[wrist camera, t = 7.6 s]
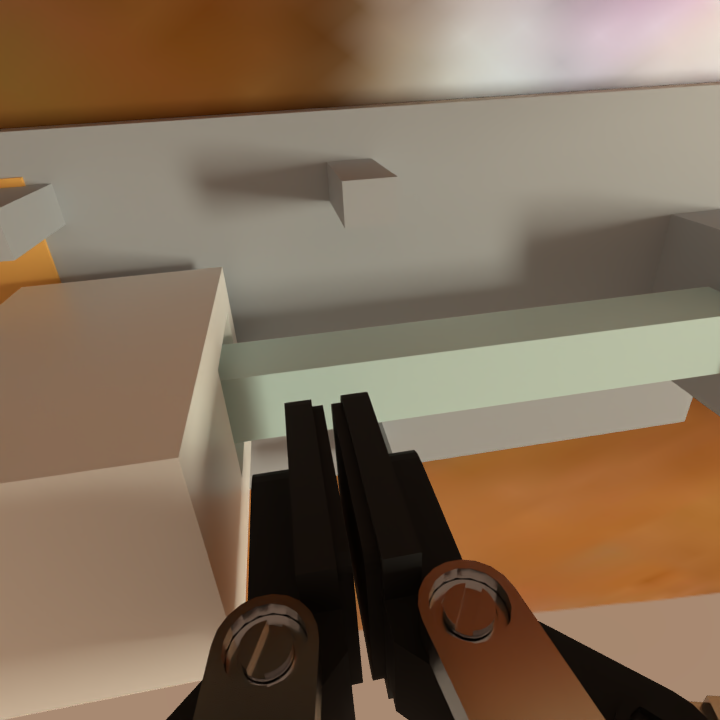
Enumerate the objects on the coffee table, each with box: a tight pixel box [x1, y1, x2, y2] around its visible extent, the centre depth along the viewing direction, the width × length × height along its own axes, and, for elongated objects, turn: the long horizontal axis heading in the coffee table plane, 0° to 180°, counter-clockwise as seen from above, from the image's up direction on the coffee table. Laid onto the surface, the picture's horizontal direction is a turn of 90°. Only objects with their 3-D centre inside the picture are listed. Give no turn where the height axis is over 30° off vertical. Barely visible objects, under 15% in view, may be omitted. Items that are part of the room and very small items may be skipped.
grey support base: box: [0, 82, 720, 489], centre depth 13 cm, size 12×30×8 cm, turn 93°
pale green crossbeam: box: [218, 286, 720, 443], centre depth 13 cm, size 2×26×2 cm, turn 93°
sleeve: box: [0, 267, 251, 720], centre depth 11 cm, size 5×5×8 cm
